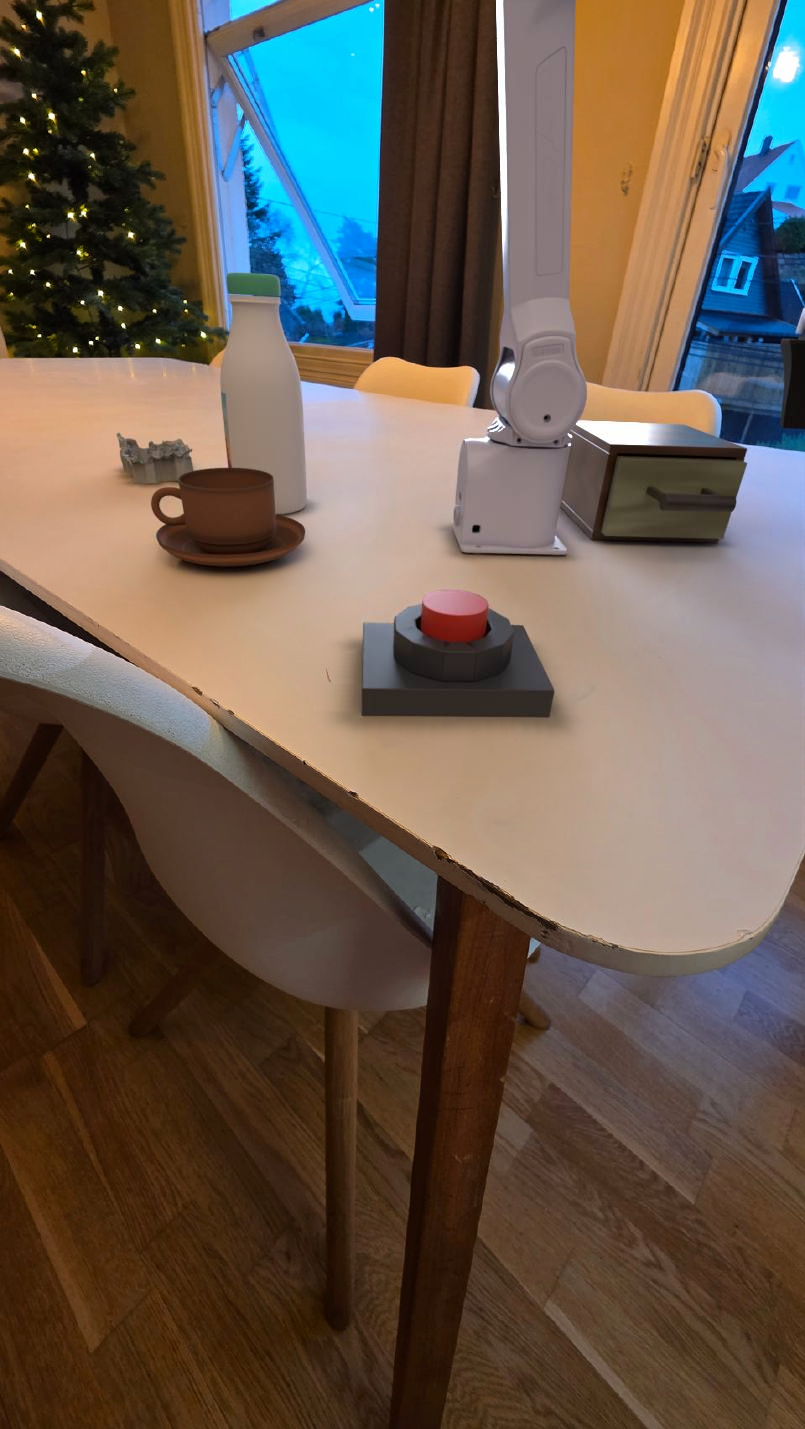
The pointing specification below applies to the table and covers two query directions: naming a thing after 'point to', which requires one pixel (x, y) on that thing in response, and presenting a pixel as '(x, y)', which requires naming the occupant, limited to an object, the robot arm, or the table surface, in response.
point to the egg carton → (155, 460)
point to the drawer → (672, 496)
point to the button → (454, 615)
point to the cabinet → (598, 456)
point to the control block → (452, 671)
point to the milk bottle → (263, 391)
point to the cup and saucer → (226, 519)
